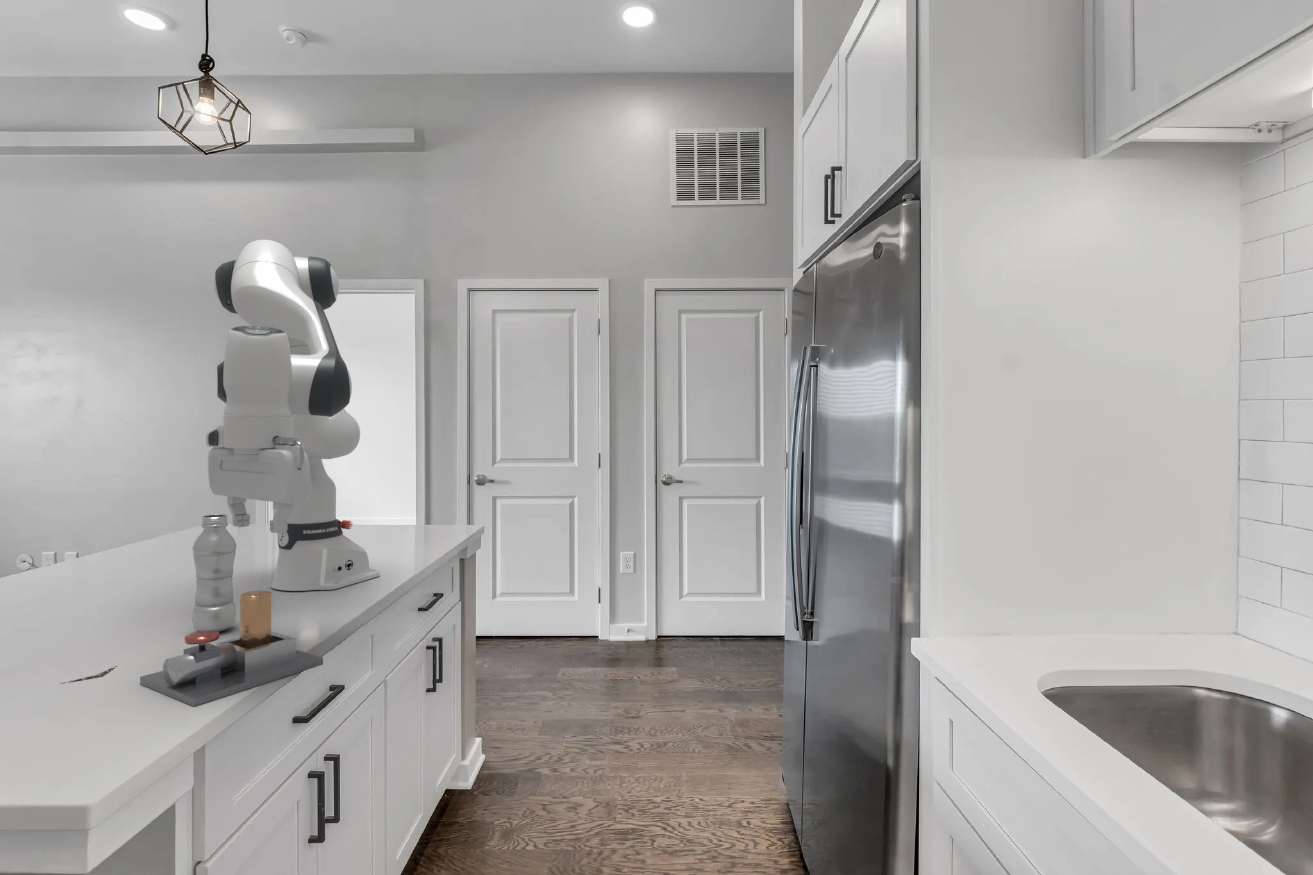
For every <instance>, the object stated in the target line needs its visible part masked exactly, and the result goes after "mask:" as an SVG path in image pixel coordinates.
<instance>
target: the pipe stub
mask: <svg viewBox="0 0 1313 875" xmlns="http://www.w3.org/2000/svg"><path fill="white" fill-rule="evenodd" d="M239 598H240V599H239V604H240V605H239V637H240V647H242V648H245V649H252V648H255V647H259V646H262V645H266V644H270V643H271V632H272V591H269V590H252V591H247V592H243V593H241V594H240V595H239Z"/></svg>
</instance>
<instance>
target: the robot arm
mask: <svg viewBox="0 0 1313 875" xmlns="http://www.w3.org/2000/svg"><path fill="white" fill-rule="evenodd" d="M213 287H214V292H215V295H216V298H217V299H218V300H219V302H220V304H221V306H222V307H223V308H224V309H225V310H226V311H227V312H229V313H230V314H231V313H232V314H236V315H238V316H239V317H240V318H241V319H242V320H243V321H244V322H246V323H247V324H248V326H247V325H240V326H239V325H238V326H235V327H232V328H230V329H229V330H228V333H227V339H226V343H225V350H224V357H223V358H224V359H223V361H222V362H220V363H219V364H218V365H217V366H216V370H217V372H216V374H217V378H216V380H217V382H216V383H217V387H216V388H217V390H216V392H217V398H218V399H220V401H222V402H223V403H225V408H224V411H223V423H221V424H219V425H218V426H217V427H215V428H213V429H211V430H209V431H208V432H206V435H205V444H206V446H207V447H208V448H211V449H209V452H208V455H207V457H208V458H207V464H208V467H207V468H208V469H207V471H208V484H209V488H210V490H211V492H212V494H213V495H215V496H220V497H221V496H222V497H226V499H227V500H226V502H227V506H228V508H229V511H230V513H231V515H232V526H233V527H236V528H243V527H244V528H245V527H249V526H250V524H251V522H250V519H251V514H249V513H247V509H246V503H247V499H248V500H254V501H255V500H256V501H264V502H270V503H271V502H272V503H273V504H272V508H273V510H275V511H274V515H273V519H272V520H269V531H270V533H272V534H273V533H275V534H277V545H278V556H277V563H276V568H275V572H274V576H273V580H272V582H271V585H270V587H271V588H272V589H274V590H278V591H286V592H287V591H289V592H290V591H291V592H297V591H298V592H300V591H301V592H302V591H317V590H318V591H319V590H320V591H325V590H327V591H328V590H337V589H340V588H343V587H347V586H350V585H354V584H357V583H361V582H364V581H367V580H371V579H374V578H378V577H380V574H381V573H380V571H379V570H378V569H377V568H376V569H375V568H373V567H370V562H369V556H368V553H367V551H366V549H365V548H364V547H362V546H360V545H359V544H357V543H356V542H355V541H353V540H352V539H350V538H349V537H347V536H345V535H344V532H343V530H345V529H346V530H350V529H352V527H353V522H352V521H351V520H346V519H343V520H339V519H337V517H336V514H337V487H336V483H335V482H334V480H333V479H332V478H331V477H330V476H329V475H328V473H327V471H326V470H325V466H324V463H323V460H331V459H337V458H342V457H345V456H347V455H350V454H351V453H352V452H354V451H355V450H356V448H357V446H358V444H359V442H360V437H361V429H360V425H359V423H358V422H357V420H356V419H355V418H354V417H353V416H352V415H351V414H350V413H349V412H347V410H346V409H345V408H347V406H348V405H349V404H350V401H351V397H352V392H353V386H352V384H353V383H352V382H353V381H352V378H351V374H350V371H349V370H348V367H347V363H346V362H345V361H344V359H343V358H342V356H341V352H340V350H339V347H338V345H337V342H336V339H335V336H334V334H333V330H332V328H331V325H330V323H329V320H328V318H327V315H326V312H325V310H329V309H330V308H331V307H332V306H333V305H335V303H336V301H337V297H338V295H339V289H340V283H339V278H338V275H337V273H336V270H334V268H333V267H332V264H331V262H329V261H328V260H327V259H325V258H322V257H318V256H317V257H316V256H310V255H309V256H308V257H302V256H294V255H293V253H292V252H291V251H290V250H289V249H288V248H287V247H286V246H284V245H283V244H282V243H280V242H278V241H275V240H271V239H257V240H253V241H251V242H249V243H247V244H246V245H245V246H244V247H243V248H242V249H241V251H240V253H239V255H238V257H237V258H236V259H234V260H230V261H226V262H223V263H222V264H220V265H219V266H218V267H217V269H215V273H214V280H213Z"/></svg>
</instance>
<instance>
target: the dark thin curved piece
mask: <svg viewBox="0 0 1313 875" xmlns="http://www.w3.org/2000/svg"><path fill="white" fill-rule="evenodd" d="M112 667H113V668H112ZM112 667H110V668H108V669H106V670H104V671H101V672H99V673H97V674H94V675H90V676H85V677H83V678H78V679H73V680H69V681H64V682H60V683H59V685H62V684H63V685H64V684H68V683H69V684H70V683H76V682H81V681H82V682H84V681H87V680H92V679H93V680H94V679H98V678H99V679H100V678H103V677H104V676H107V674H109V673H111V672H112V671H114V670H115V669H116V668H117V667H118V666H116V665H114V666H112ZM115 667H116V668H115ZM113 669H114V670H113ZM111 670H112V671H111Z"/></svg>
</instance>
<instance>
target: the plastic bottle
mask: <svg viewBox="0 0 1313 875" xmlns="http://www.w3.org/2000/svg"><path fill="white" fill-rule="evenodd" d="M201 521H202V522H201V528H203V530H202V532H200V534H199V535H198V536H197V538H196V539H195V541H194V543H193V545H192V554H193V562H194V567H195V579H196V590H195V600H194V606H193V610H192V616H191V622H192V626H193V628H194V629H195V631H197V632H203V631H217V632H219V633H220V632H222V631H225V630H228V629H231V628H232V627H233V626H234V624H235V622H236V618H237V609H236V602H235V600H234V589H233V588H234V587H233V575H234V563H235V560H236V559H235V557H236V550H237V544H236V540H235V538H234V537H233V536H232V534H231V533H230V532H229V531H228V530H227V527H228V526H229V524H228V515H227V514H222V513H221V514H219V513H218V514H207V515H203V516H202V520H201Z"/></svg>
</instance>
